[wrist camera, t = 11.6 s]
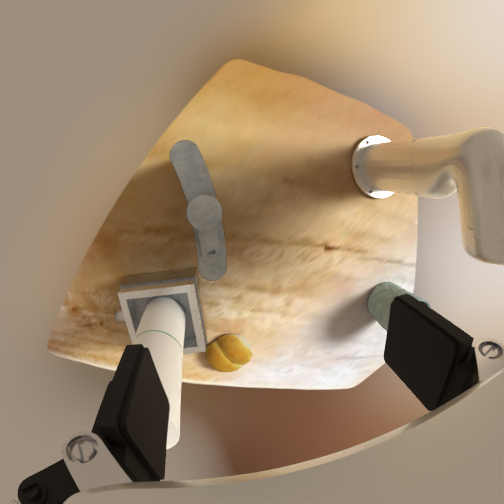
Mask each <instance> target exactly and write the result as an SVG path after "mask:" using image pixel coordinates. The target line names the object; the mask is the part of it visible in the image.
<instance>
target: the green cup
mask: <svg viewBox="0 0 504 504" xmlns="http://www.w3.org/2000/svg"><path fill="white" fill-rule="evenodd" d="M403 294H410V295H411V296H413V297H414V298H416V299H417V300H419V301H420V302H422V303H423V304H425V305H426V306H428V307H429V308H431V307H430V304H429V303H428V302H427V301H426V300H424V299H422V298H420V297H418V296H417V295H414V294H413V293H410V292H408V291H406V290H405V289H401V287H399V286H398V285H396V284H393V283H391V282H383V283H380V284H379V285H377V286H376V287H375V288H374V289H373V290H372V292H371V294H370V295H369V298H368V303H367V306H368V310H369V312H370V314H371V315H372V316H373V317H374V318H375V319H376V320H377V321H378V323H379V324H380V325H381V326H382V327H383V328H384V329H386V331H388V323H389V315H390V305H391V302H392V301H393V300H394V298H395V297H396V296H400V295H403Z"/></svg>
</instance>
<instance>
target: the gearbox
mask: <svg viewBox="0 0 504 504" xmlns="http://www.w3.org/2000/svg"><path fill="white" fill-rule="evenodd" d="M118 297H119V301H120V305H121V309H115V311H114V316H115V320H116V322H124V321H125V322H126V326H127V329H128V332H129V336H130V339H131V342H132V343H133V340H134V337H135V335H136V332H137V329H138V326H139V324H140V321H141V319H142V316H143V313H144V311H145V308H146V306H147V305H148V303H149V302H150V301H152V300H154V299H156V298H160V297H166V298H170V299H173V300H175V301H176V302H178V303H179V304H180V305H181V306H182V308H183V310H184V312H185V316H186V320H185V332H184V346H183V354H189V353H197V352H206V345H208V344H207V330H206V324H205V319H204V313H203V307H202V301H201V295H200V289H199V283H198V276H197V270H196V267H193V268H185V269H177V270H169V271H161V272H153V273H145V274H137V275H129V276H126V277H125V278H124V280H123V281H122V283H121V284H120V290H119V292H118Z"/></svg>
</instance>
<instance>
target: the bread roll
mask: <svg viewBox="0 0 504 504" xmlns="http://www.w3.org/2000/svg"><path fill="white" fill-rule="evenodd" d="M206 356H207V360H208V362H209V364H210V365H211V366H212V367H213V368H214V369H215V370H217V371H220V372H233V371H236V370H238V369H239V368H240V367H242V366H243V365H244V364H246V363H248V362H249V360H250V359H251V357H252V348H251V345H250V344H249V343H248V341H247V340H246V339H245V338H244V337H243V336H242V335H240V334H227V335H224V336H222V337H220V338H219V339H218V340H216V341H215V342H213V343H211V344H210V345H209V346H208V347H207V352H206Z"/></svg>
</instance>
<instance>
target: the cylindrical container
mask: <svg viewBox="0 0 504 504" xmlns="http://www.w3.org/2000/svg"><path fill="white" fill-rule="evenodd" d="M185 320H186V316H185V312H184V310H183V308H182V306H181V305H180V304H179V303H178V302H176V301H175V300H173V299H170V298H166V297H160V298H156V299H154V300H152V301H150V302H149V303H148V305H147V306H146V308H145V311H144V313H143V316H142V319H141V321H140V324H139V326H138V329H137V332H136V335H135V337H134V340H133V343H132V345H134V344H142V345H143V346H144V348H145V347H148V348H149V350H150V353H151V356H152V359H153V362H154V364H155V367H156V370H157V372H158V375H159V378H160V380H161V383H162V385H163V388H164V390H165V393H166V395H167V397H168V400H169V404H170V411H169V422H168V433H167V445H166V449H169V448H171V447H173V446H174V445H175V444H176V443H177V442H178V440H179V437H180V403H181V380H182V361H183V346H184V332H185Z"/></svg>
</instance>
